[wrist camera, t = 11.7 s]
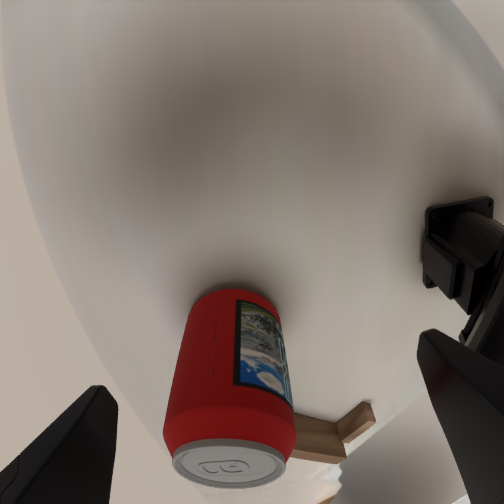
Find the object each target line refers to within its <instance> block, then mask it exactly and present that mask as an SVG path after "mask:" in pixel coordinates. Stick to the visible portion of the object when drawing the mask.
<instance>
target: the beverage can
mask: <svg viewBox="0 0 504 504" xmlns="http://www.w3.org/2000/svg"><path fill="white" fill-rule="evenodd" d="M163 437H164V441H165V443H166V445H167V448H168V450H169V452H170V454H171V457H172V459H173V460H172V465H173V467H174V469H175V470H176V472H177V473H179V474H180V475H181V476H183V477H184V478H186V479H188V480H190V481H192V482H195V483H198V484H201V485H205V486H209V487H215V488H224V489H244V488H252V487H257V486H262V485H265V484H268V483H271V482H273V481H275V480H276V479H278V478H279V477H281V476H282V475H283V473H284V472H285V469H286V462H287V460H288V459H289V457H290V455H291V453H292V451H293V449H294V447H295V444H296V441H297V434H296V426H295V417H294V409H293V401H292V393H291V386H290V379H289V373H288V366H287V359H286V352H285V346H284V340H283V334H282V328H281V322H280V318H279V315H278V313H277V311H276V309H275V308H274V307H273V305H272V304H271V303H270V302H269V301H267V300H266V299H265V298H263V297H262V296H260V295H258V294H256V293H253V292H250V291H247V290H242V289H224V290H219V291H215V292H212V293H210V294H208V295H206V296H204V297H203V298H201V299H200V300H199V301H198V302H197V303H196V304H195V305H194V306H193V308H192V309H191V311H190V313H189V316H188V320H187V323H186V327H185V331H184V335H183V339H182V343H181V347H180V351H179V355H178V360H177V364H176V368H175V373H174V378H173V382H172V387H171V392H170V396H169V401H168V407H167V412H166V417H165V422H164V428H163Z"/></svg>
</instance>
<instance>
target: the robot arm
mask: <svg viewBox="0 0 504 504" xmlns="http://www.w3.org/2000/svg"><path fill="white" fill-rule="evenodd" d="M487 203H488V205H487ZM493 205H494V202H493V199H492V198H490V197H488V196H486V197H480V198H475V199H470V200H464V201H459V202H454V203H448V204H443V205H438V206H432V207H430V208H428V209H427V211H426V237H425V239H424V254H423V270H424V278H423V284H424V285H425V286H426V288H428V289H429V288H433V287H437V286H438V287H439V288H440V290H441V291H442V292H443V293H444V294H445V295H446V296H447V298H449V299H450V300H452V299H454V300H455V301H456V302H457V303H458V304H459V305H460V307H461V308H462V309H463V310H464V311H465V312H466V314H467V315H471V316H470V318H469V320H468V322H467V324H466V326H465V328H464V330H462V331H461V333H460V335H459V337H458V338H459V341H460V342H458V341H456V340H454V339H453V338H451V337H449V336H447V335H446V334H444V333H442V332H440V331H439V330H437V329H429V330H426V331H423V332H421V334H420V336H419V343H418V349H417V360H418V364H419V366H420V369H421V372H422V375H423V378H424V381H425V384H426V387H427V390H428V393H429V397H430V400H431V402H432V406H433V408H434V410H435V413H436V415H437V417H438V420H439V422H440V424H441V426H442V428H443V431H444V433H445V436H446V438H447V441H448V443H449V446H450V448H451V450H452V453H453V455H454V458H455V461H456V463H457V466H458V469H459V471H460V474H461V477H462V479H463V482H464V485H465V488H466V490H467V493H468V496H469V499H470V502H471V504H504V225H502V224H500V223H499V222H497V221H496V220H494V219H493ZM433 212H434V215H433V216H432V217H431V215H432V213H433ZM430 280H431V281H430ZM429 281H430V282H429ZM428 282H429V283H428ZM117 421H118V404H117V402H116V400H115V399H114V398H113V396H112V395H111V394H110V393H109V391H108V390H107V388H106V387H105V386H103V385H93V386H91V387H90V388H89V389H87V390H86V391H85V392H84V393H83V394H82V395H81V396H80V397H79V398H78V399H77V400H76V401H75V402H74V403H73V404H71V405H70V406H69V407H68V408H67V409H66V410H65V411H64V412H63V413H62V414H61V415H60V416H59V417H58V418H57V419H56V420H55V421H54V422H53V423H51V424H50V425H49V427H47V428H46V429H45V430H44V431H43V432H42V433H41V434H40V435H39V436H38V437H37V438H36V439H35V440H34V441H33V442H32V443H31V444H30V445H29V446H27V447H26V449H24V450H23V451H22V452H21V453H20V455H18V456H17V457H16V458H15V459H14V460H13V461H12V462H11V463H10V464H9V465H8V466H7V467H6V468H4V469H3V470H2V471H1V472H0V504H109V499H110V491H111V483H112V475H113V467H114V461H115V453H116V439H117Z"/></svg>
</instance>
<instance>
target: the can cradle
mask: <svg viewBox="0 0 504 504" xmlns="http://www.w3.org/2000/svg"><path fill="white" fill-rule="evenodd" d="M294 417H295V426H296V434H297V441H296V444H295V447H294V449H293V451H292V453H291V455H290V457H293V458H299V459H304V460H311V461H317V462H324V463H331V464H338V463H340V462H341V461H343V460H344V459H346V458H347V457H346V452H345V448H344V444H343V442H344V443H349V442H351V441H352V440H354V439H355V438H356V437H358V436H359V435H361V434H362V433H363V432H365V431H366V430H367V429H369V428H370V427H371V426H373V425H374V424H375V423H376V419H375V416H374V413H373V410H372V408H371V405H370V404H369V403H365V402H362V403H361V404H359V405H358V406H357V407H356V408H355V409H353V410H352V411H351V412H350V413H348V414H347V415H346V416H345V417H343V418H342V419H341V420H340V421H338V422H337V423H336V424H335V423H331V422H327V421H323V420H319V419H315V418H311V417H307V416H303V415H300V414H296V413H294Z"/></svg>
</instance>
